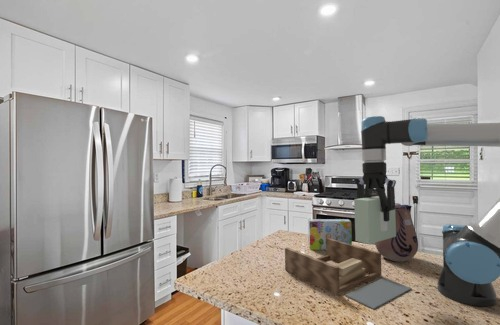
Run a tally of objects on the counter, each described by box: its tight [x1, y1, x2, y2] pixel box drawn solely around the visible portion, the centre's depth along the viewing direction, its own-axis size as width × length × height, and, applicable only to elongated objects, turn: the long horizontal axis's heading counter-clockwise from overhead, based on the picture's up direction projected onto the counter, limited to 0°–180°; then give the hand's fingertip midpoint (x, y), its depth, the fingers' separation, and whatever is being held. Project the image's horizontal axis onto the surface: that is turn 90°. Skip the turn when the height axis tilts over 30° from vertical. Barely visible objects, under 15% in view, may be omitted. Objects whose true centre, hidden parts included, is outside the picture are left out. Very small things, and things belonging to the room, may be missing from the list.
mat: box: [344, 277, 412, 310], centre depth 89 cm, size 10×23×1 cm, turn 123°
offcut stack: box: [334, 258, 367, 287], centre depth 100 cm, size 5×16×6 cm, turn 123°
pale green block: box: [353, 195, 396, 245], centre depth 90 cm, size 5×16×14 cm, turn 123°
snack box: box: [307, 218, 353, 251], centre depth 137 cm, size 21×6×15 cm, turn 84°
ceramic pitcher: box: [374, 202, 419, 262], centre depth 122 cm, size 18×21×25 cm
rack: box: [284, 238, 382, 296], centre depth 106 cm, size 26×27×9 cm
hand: (376, 228), depth 90 cm, fingers closed on pale green block, 5 cm apart
